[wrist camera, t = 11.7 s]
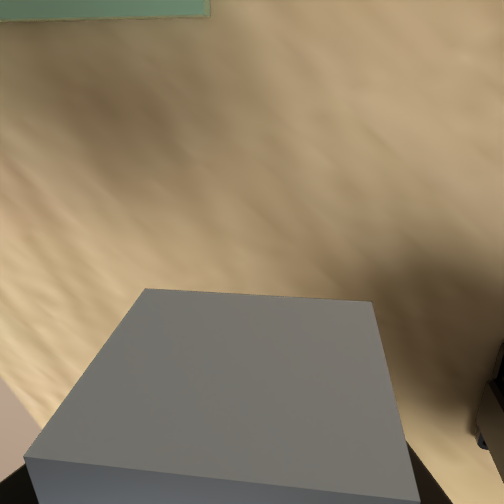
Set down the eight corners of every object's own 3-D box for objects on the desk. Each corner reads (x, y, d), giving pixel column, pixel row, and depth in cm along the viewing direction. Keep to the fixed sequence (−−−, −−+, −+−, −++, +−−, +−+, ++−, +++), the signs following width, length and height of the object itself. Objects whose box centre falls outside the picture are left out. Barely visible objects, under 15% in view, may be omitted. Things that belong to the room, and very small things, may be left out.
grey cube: (372, 301, 8) (419, 501, 4) (350, 465, 10) (372, 699, 6) (145, 288, 9) (22, 456, 5) (166, 446, 10) (89, 650, 7)
